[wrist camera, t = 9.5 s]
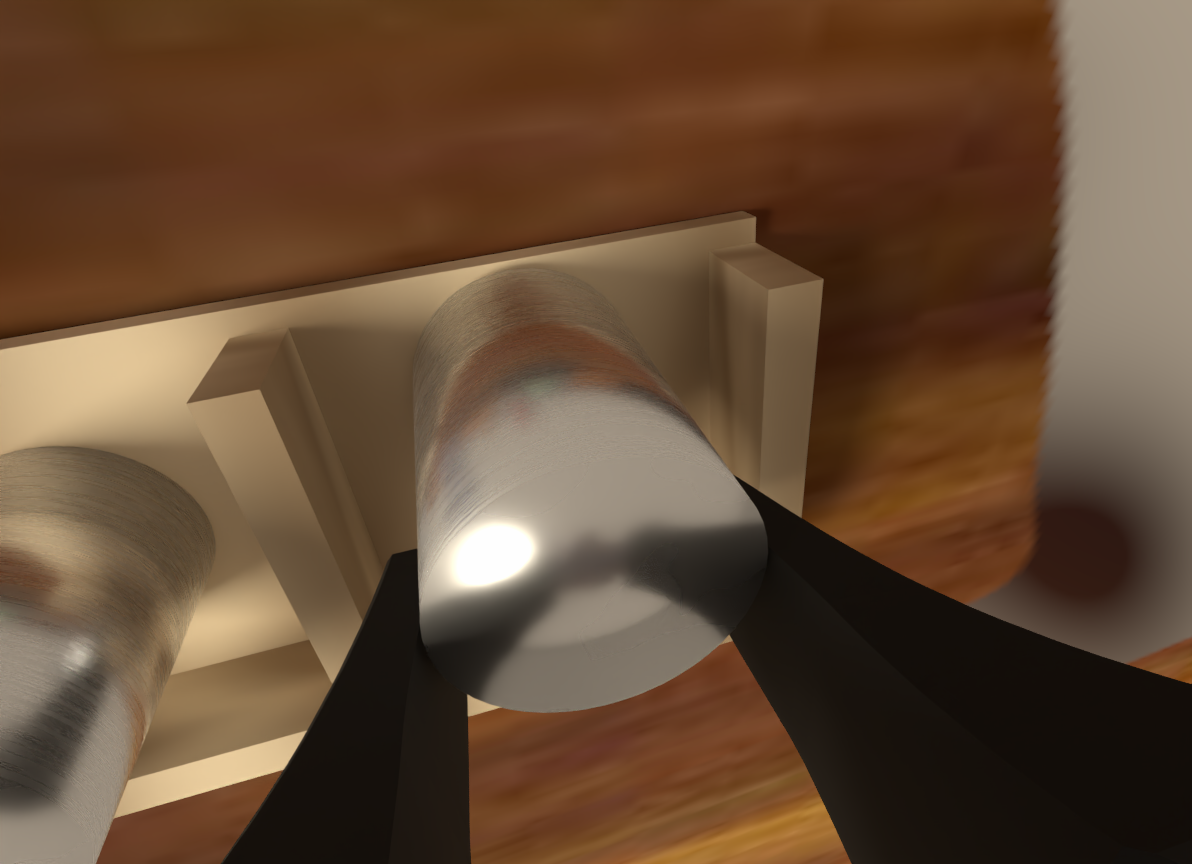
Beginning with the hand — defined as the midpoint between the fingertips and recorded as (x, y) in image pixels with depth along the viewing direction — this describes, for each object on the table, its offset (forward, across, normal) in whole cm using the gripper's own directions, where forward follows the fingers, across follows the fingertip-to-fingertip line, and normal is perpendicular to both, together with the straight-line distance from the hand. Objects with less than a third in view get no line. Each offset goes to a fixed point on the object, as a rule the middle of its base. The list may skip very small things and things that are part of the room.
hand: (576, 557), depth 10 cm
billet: (+4, 0, -2) cm, 4 cm away
